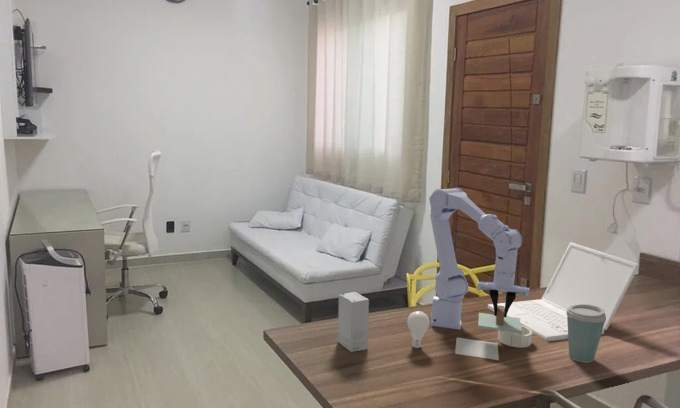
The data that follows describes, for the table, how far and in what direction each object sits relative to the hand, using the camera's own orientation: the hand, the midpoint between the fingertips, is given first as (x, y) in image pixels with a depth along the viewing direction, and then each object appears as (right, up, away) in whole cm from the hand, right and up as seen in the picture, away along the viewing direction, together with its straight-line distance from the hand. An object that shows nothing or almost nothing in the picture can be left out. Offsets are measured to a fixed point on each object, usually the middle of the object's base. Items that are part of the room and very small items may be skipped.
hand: (500, 315), depth 167 cm
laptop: (+27, -7, +27) cm, 38 cm away
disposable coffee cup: (+22, -12, -4) cm, 25 cm away
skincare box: (-44, -8, -4) cm, 45 cm away
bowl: (+6, -9, +5) cm, 12 cm away
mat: (-7, -10, -2) cm, 12 cm away
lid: (0, -2, 0) cm, 2 cm away
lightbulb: (-25, -9, -3) cm, 27 cm away
